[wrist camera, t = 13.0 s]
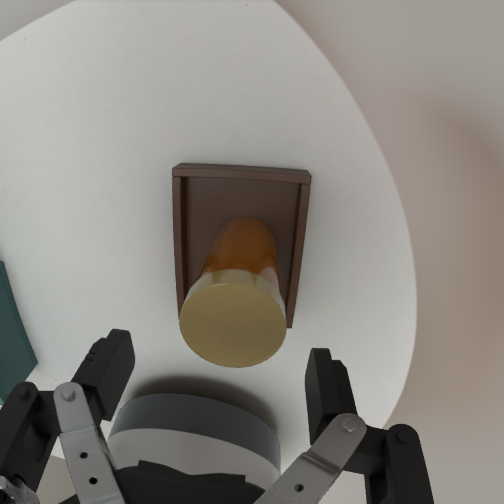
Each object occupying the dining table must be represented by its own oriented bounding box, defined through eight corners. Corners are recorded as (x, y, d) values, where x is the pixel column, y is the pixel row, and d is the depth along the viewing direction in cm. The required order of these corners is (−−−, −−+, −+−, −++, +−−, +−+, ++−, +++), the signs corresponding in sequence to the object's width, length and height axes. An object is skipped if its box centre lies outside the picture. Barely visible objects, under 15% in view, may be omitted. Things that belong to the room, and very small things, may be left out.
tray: (180, 163, 22) (171, 167, 21) (307, 170, 22) (311, 175, 20) (183, 305, 27) (178, 319, 26) (290, 314, 27) (291, 328, 25)
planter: (130, 442, 38) (98, 542, 22) (119, 352, 30) (51, 495, 14) (260, 468, 39) (255, 574, 23) (300, 390, 31) (311, 549, 15)
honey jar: (210, 212, 23) (175, 278, 14) (282, 216, 23) (292, 287, 14) (210, 275, 25) (182, 362, 16) (276, 280, 25) (280, 371, 16)
